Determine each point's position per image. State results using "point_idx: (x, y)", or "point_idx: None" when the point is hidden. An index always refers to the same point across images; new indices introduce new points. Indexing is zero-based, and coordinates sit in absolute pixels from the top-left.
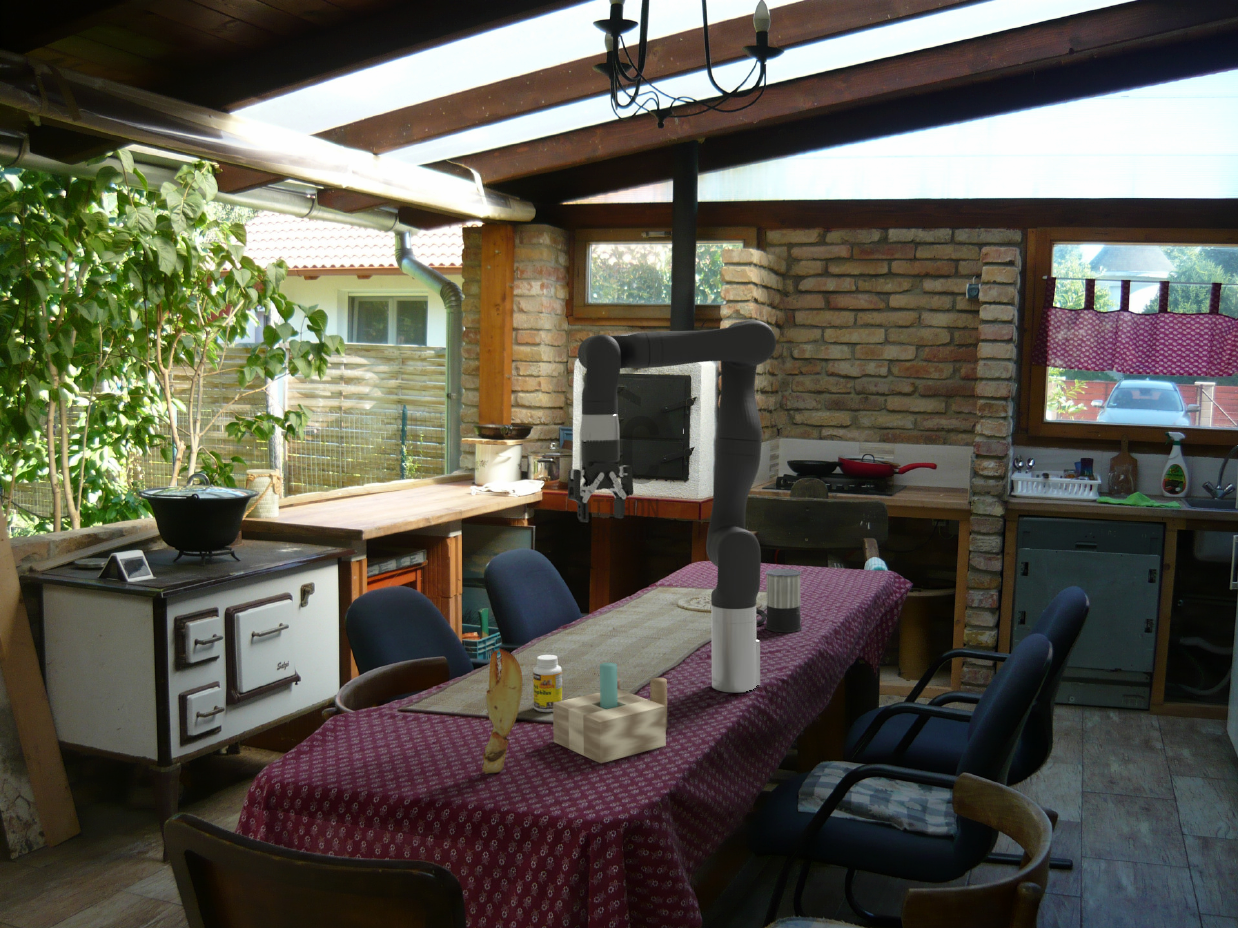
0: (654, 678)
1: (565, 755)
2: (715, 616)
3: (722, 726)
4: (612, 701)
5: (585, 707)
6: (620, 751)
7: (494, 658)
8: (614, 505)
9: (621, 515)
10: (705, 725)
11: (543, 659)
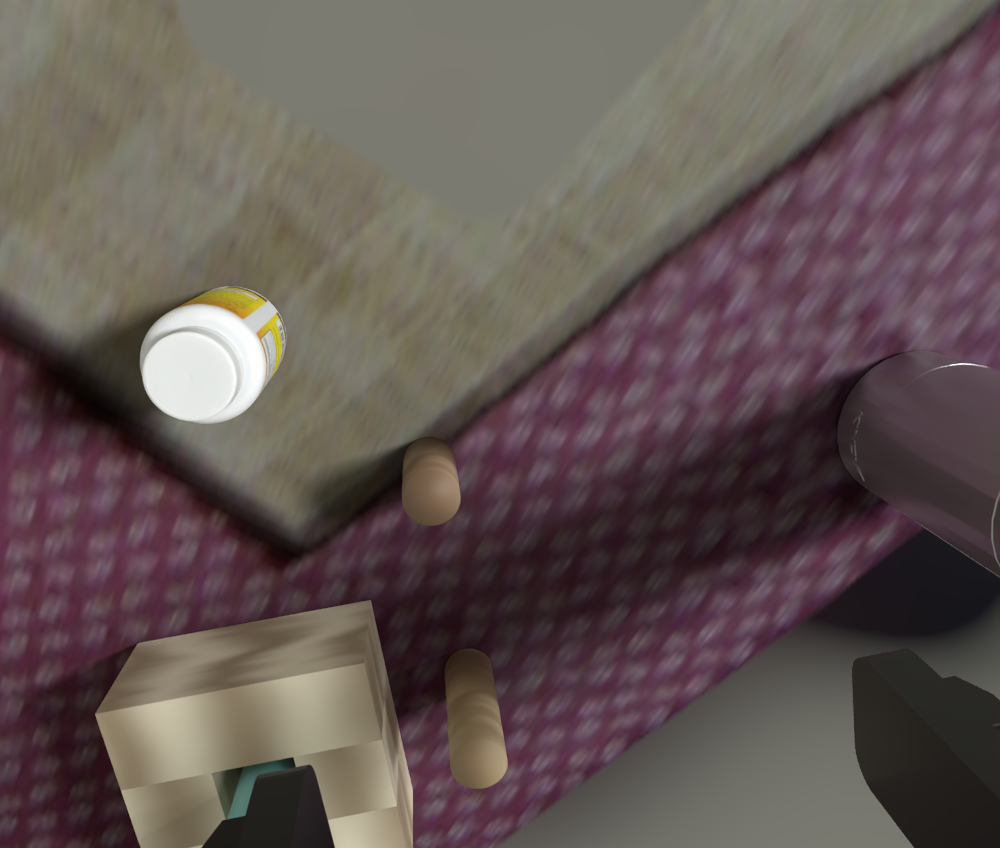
0: (476, 743)
1: None
2: None
3: (630, 725)
4: None
5: (179, 797)
6: None
7: None
8: (955, 767)
9: (886, 797)
10: (595, 700)
11: (159, 406)
